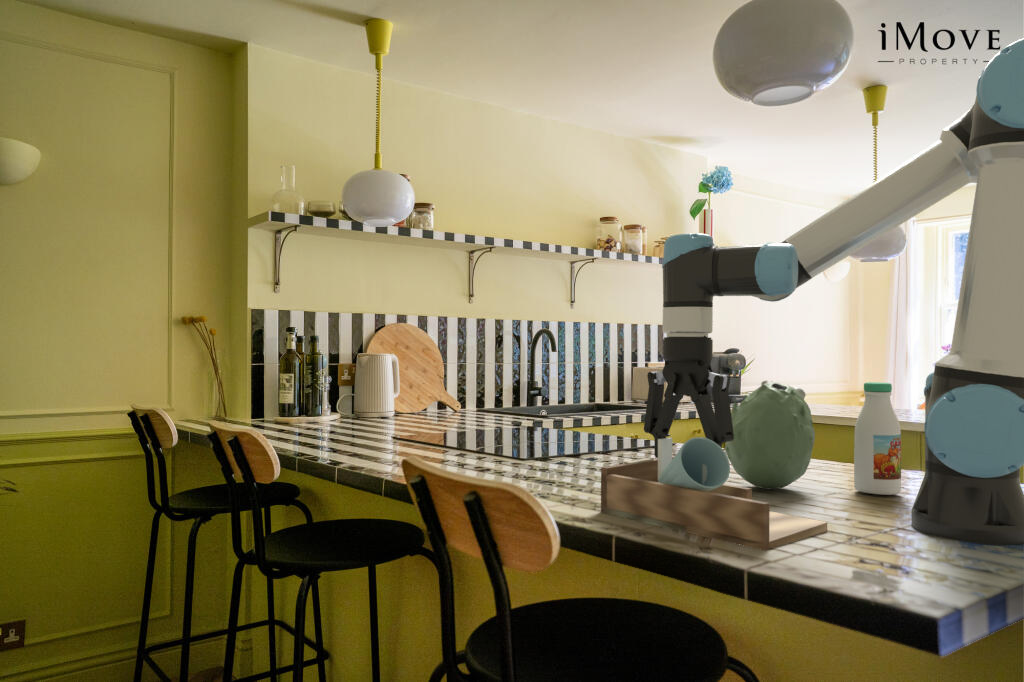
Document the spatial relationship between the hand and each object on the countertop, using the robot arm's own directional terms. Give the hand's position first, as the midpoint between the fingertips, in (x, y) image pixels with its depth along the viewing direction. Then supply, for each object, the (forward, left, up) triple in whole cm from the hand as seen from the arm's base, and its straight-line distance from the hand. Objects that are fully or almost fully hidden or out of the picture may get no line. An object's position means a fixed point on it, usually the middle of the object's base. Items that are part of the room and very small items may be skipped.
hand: (686, 483), depth 113 cm
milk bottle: (-10, -44, -6) cm, 46 cm away
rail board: (-4, 0, -5) cm, 7 cm away
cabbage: (+4, -32, -6) cm, 33 cm away
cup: (-3, +2, -3) cm, 5 cm away
